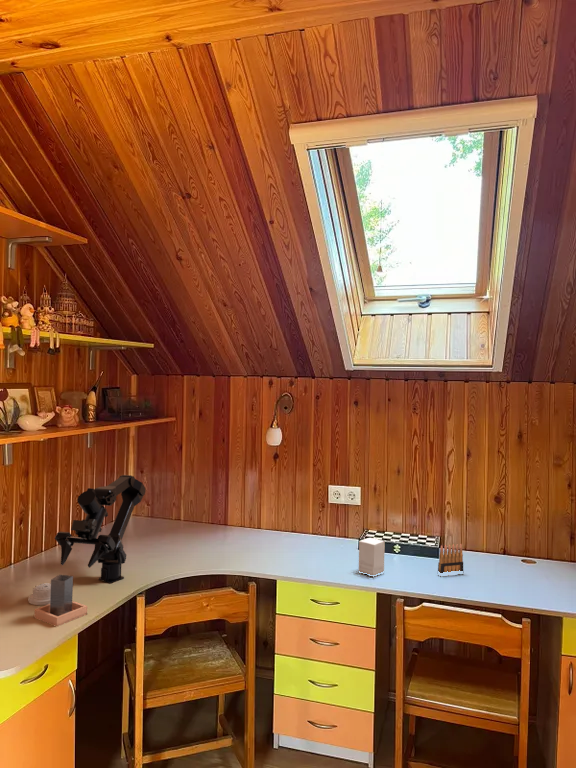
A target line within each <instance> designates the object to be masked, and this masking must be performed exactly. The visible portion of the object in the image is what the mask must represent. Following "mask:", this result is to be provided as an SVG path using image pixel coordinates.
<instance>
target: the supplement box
mask: <svg viewBox="0 0 576 768" xmlns="http://www.w3.org/2000/svg"><path fill="white" fill-rule="evenodd" d="M385 548H386V547H385V540H384V541H383V540H382V539H381V540H380V539H377V538H373V537H367V538H365V539H361V540H359V541H358V572H359V571H360V572H363V573H367V574H370V575H376V574H378V573H381V572H383V571H384V572H385V550H386V549H385Z"/></svg>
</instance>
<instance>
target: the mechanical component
mask: <svg viewBox="0 0 576 768" xmlns="http://www.w3.org/2000/svg"><path fill="white" fill-rule="evenodd" d="M50 597H51V582H50V583H48V582H45V583H44V582H43V583H40V584H38V585H35V586H34V587H32V594H30V595H29V596H28V603H29V604H31V605H34V606H35V605H36V606H45V605H48V604H50Z"/></svg>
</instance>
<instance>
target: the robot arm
mask: <svg viewBox="0 0 576 768" xmlns="http://www.w3.org/2000/svg"><path fill="white" fill-rule="evenodd" d="M146 491H147V490H146V487H145V485H144V484H143V482H142V481H140V480H139V479H136V478H135V476H134V475H128V474H122V475H119V477H118V478H117V479H115V480H114V481H112V482H111V483H110V484H108V485H106V486H99V487H95V488H92V487H91V488H87V490H86V491H83V492H81V493H80V495H78V497H77V500H76V501H77V503H78V505H79V506H80V508H81V509H82V511H83V512H84V514H86V516H85V518H84V519H82V520H80V519H79V520H78V519H74V520H72V524H71V529H70V530H71V531H74V533H75V535H76V536H73V535H72V534H71V532H69V531H57V533H56V535H55V536H54V539H55V541H56V542H57V544H58V545H59V546H60V547H61V548H60V551H61V552H60V565H62V566H64V564H65V563H66V561H67V559H68V557H69V556H70V554H71V552H72V550H73V548H72V547H73V546H74V544H85V545H93V546H94V549H93V552H92V554H91V556H90V558H89V561H88V564H87V566H88V567H87V568H91V567H92V566H94V564H96V563H98V564H101V568H100V577H98V581H102V582H106V583H109V584H112V583H115V582H118V581H121V580H123V579H125V576H124V575H122V565H123V564H125V563H126V561H127V560H126V559H127V554H126V551H125V550H124V543H123V537H124V534H125V532H126V529H127V526H128V525H129V522H130V519H131V516H132V514H133V511H134V509H135V506H137V505H138V504H140V503H141V502H142V500H143V498H144V497H145V495H146ZM118 495H120V496H121V499H122V502H121V505H120V507H119V509H118V512H117V514H116V515H115V516H116V517H115V519H114V521H113V524H112V526H111V529H110V532H109V534H99V533H101V532H102V531H103V530H102V529H103V528H101V527H102V525H103V522H104V520H105V518H106V517H108V516H109V512H108V511H107V508H106V507H105V506H113V504H114V503H115V502H116V501H117V496H118Z"/></svg>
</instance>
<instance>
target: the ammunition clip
mask: <svg viewBox="0 0 576 768" xmlns="http://www.w3.org/2000/svg"><path fill="white" fill-rule="evenodd" d="M463 556H464V554H463V545H462V543H460V544H458V543H456V545H455V544H454V543H453V544H452V546H451V544H448V547H447V544H445V545H444V547H443V544H442V545H440V549H439V557H438V558H439V559H438V560H439V562H438V564H437V572H438V571H439V572H440V573H443V572H447V571H448V572H451V571H459V570H460V571H463V572H464V561H463V560H464V559H463V558H464V557H463Z"/></svg>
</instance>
